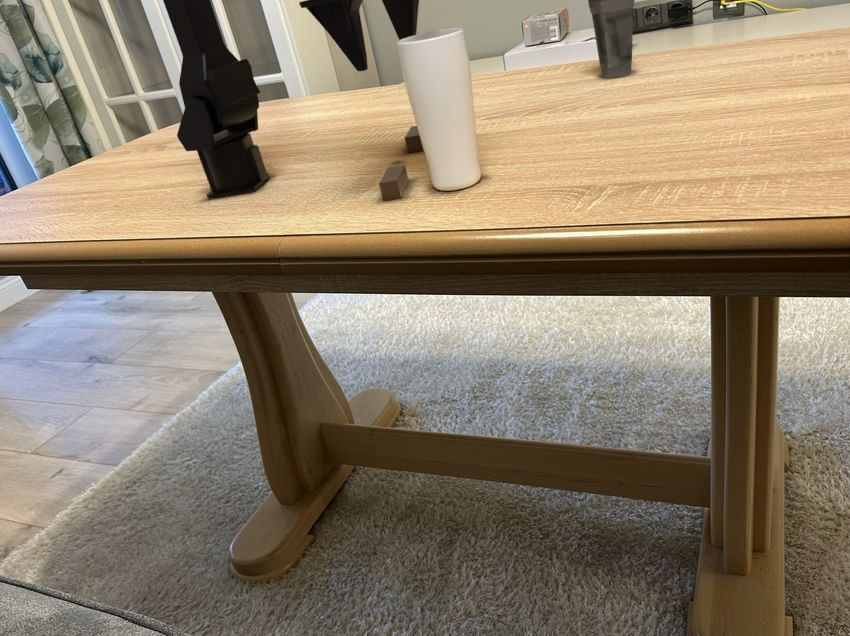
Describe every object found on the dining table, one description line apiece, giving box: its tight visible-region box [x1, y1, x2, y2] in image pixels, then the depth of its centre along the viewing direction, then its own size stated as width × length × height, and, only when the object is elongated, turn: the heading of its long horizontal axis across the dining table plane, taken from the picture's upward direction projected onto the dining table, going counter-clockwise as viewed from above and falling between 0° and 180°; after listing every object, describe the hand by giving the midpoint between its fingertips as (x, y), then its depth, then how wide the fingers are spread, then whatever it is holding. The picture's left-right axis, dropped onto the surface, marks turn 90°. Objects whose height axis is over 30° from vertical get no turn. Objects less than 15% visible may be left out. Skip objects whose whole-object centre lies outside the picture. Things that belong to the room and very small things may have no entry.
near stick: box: [378, 163, 410, 201], centre depth 78 cm, size 6×2×2 cm, turn 176°
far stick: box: [404, 125, 424, 154], centre depth 94 cm, size 6×2×2 cm, turn 176°
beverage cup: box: [587, 0, 635, 79], centre depth 107 cm, size 7×7×20 cm
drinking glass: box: [396, 27, 482, 192], centre depth 72 cm, size 7×7×15 cm
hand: (387, 60), depth 72 cm, fingers open, 9 cm apart
